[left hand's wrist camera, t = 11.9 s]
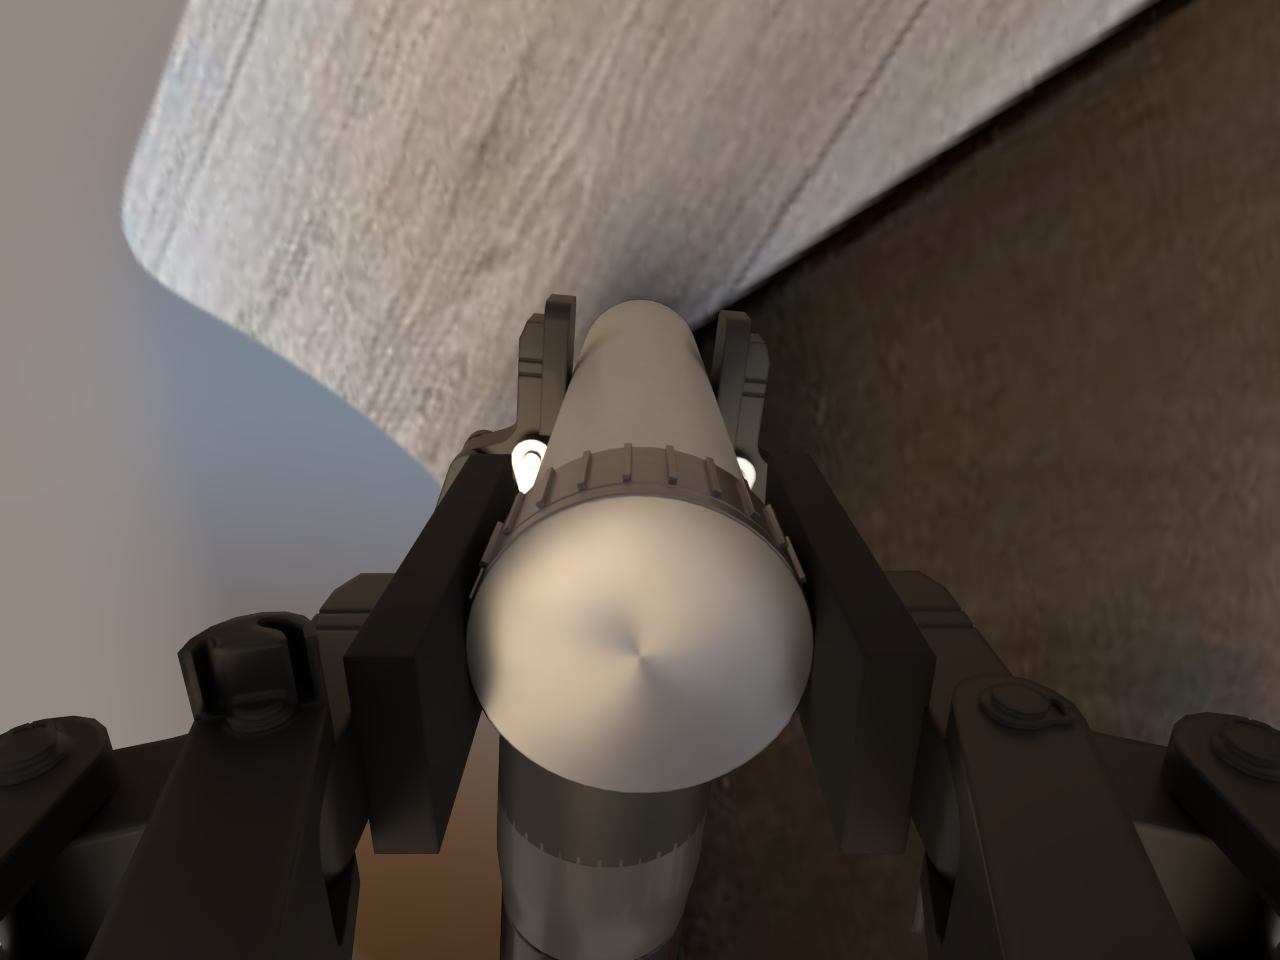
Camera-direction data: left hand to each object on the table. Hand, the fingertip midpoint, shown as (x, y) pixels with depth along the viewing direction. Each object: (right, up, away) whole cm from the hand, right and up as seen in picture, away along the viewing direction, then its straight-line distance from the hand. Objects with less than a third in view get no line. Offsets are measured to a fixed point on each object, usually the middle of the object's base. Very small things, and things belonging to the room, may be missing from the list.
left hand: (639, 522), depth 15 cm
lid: (0, -1, -4) cm, 4 cm away
